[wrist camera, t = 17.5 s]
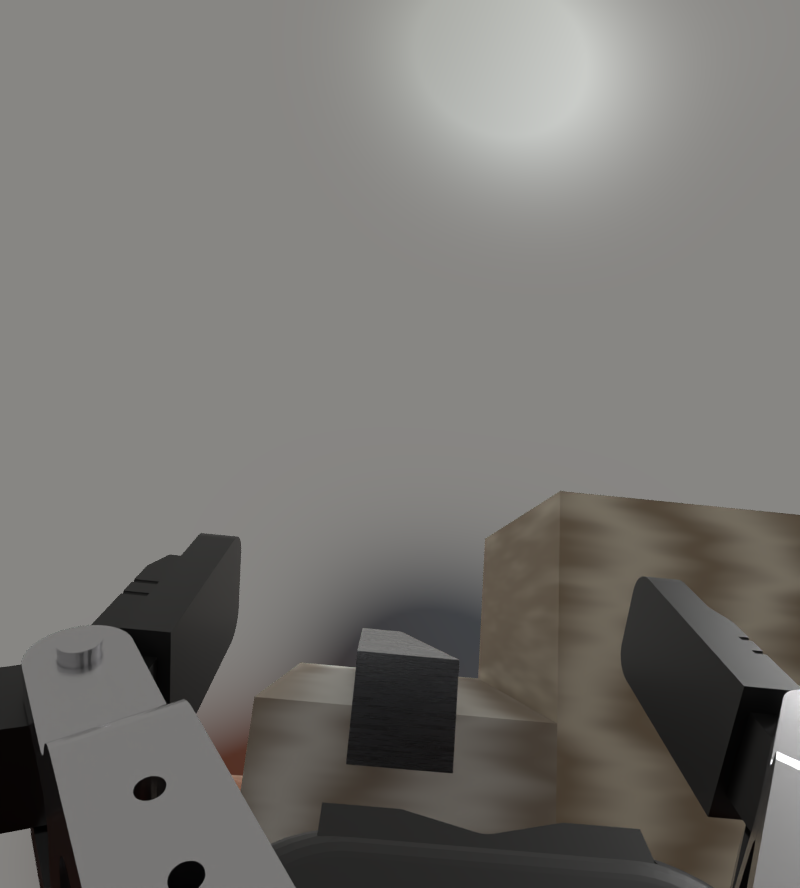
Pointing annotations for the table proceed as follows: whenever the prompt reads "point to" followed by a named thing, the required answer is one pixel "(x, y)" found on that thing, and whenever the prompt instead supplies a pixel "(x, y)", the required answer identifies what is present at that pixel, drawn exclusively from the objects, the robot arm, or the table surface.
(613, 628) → the stand
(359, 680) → the bar
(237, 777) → the table surface
